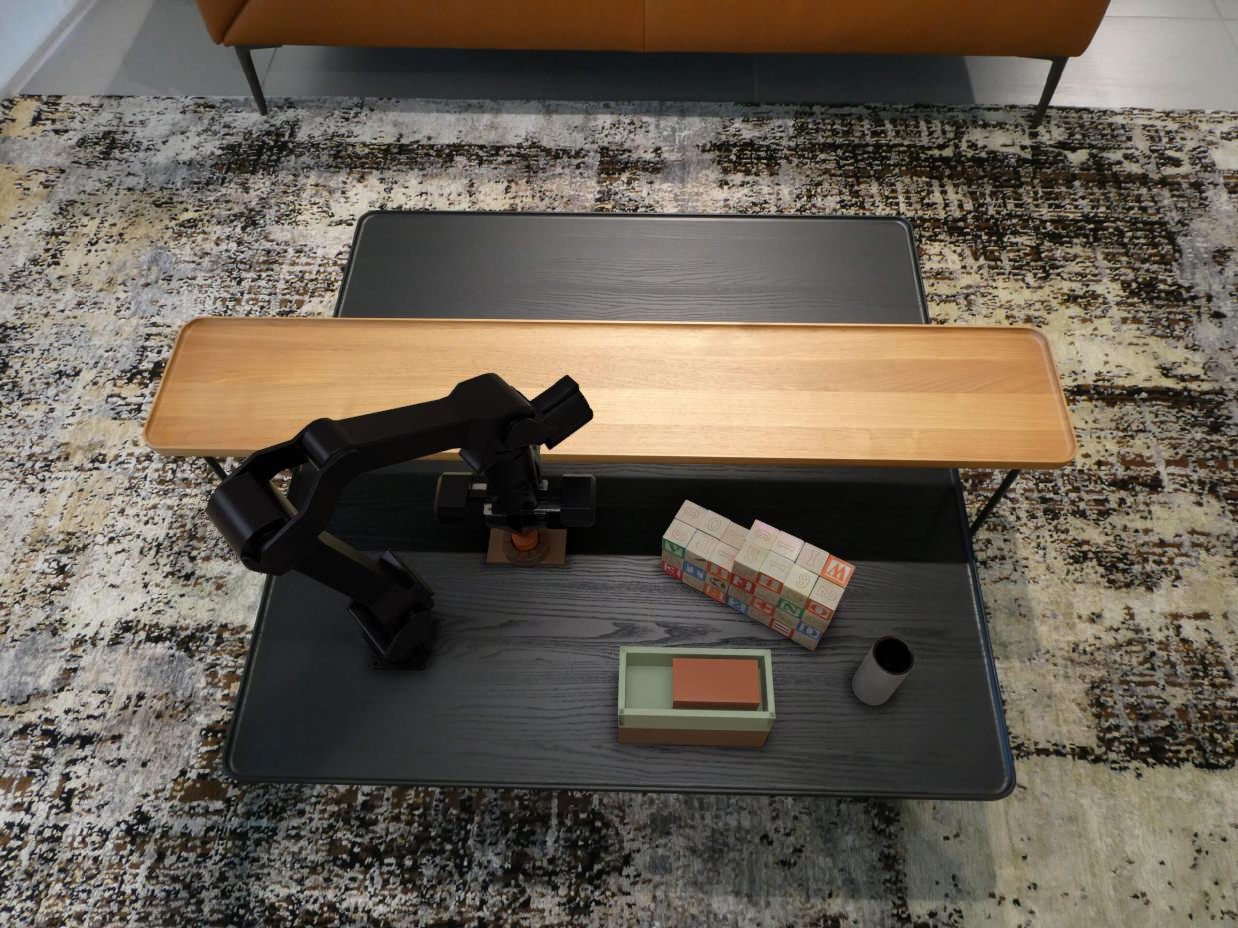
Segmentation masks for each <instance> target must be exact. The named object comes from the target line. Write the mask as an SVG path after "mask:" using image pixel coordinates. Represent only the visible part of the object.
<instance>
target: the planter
mask: <svg viewBox="0 0 1238 928" xmlns="http://www.w3.org/2000/svg"><path fill="white" fill-rule="evenodd" d="M915 663H916V656H915V651H914V649H913V647H912V646H911V645H910V644H909V643H908V641H906V639H904V638H902V637H899V636H898V635H897V636H896V635H892V634H891V635H884V636H881V637H879V638H878V639H877V640H876V641H874V643H873V645H872V647H871V648H870V649H869V651H868V653H867V654H866V656H865V657H864V659H863V660H862V662H861V663H860V665H859V666H858V669H857V670H856V671H855V673H854V675H853V677H852V679H851V687H852V688H851V689H852V691H853V693H854V695H855V697H856V698H857V699H858V700H859V701H860V702H861V703H864V704H866V705H868V706H876V707H877V706H880V705H883V704H885V703H886V702H887V701H888V700H889V699H890V697H891V696H892V695H893V694H894V693H895V692H896V690H897V689H898V688H899V686H900V685H901V684H902V683H903V681H904V680H905V679H906V677H907V676H908V675H909V673H910V672H911V671H912V670H913V668H914V666H915Z"/></svg>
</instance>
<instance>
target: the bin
mask: <svg viewBox="0 0 1238 928" xmlns="http://www.w3.org/2000/svg"><path fill="white" fill-rule="evenodd" d="M673 658H692V659H737V660H758V673H759V689H760V704H759V707H758V709H757V711H720V710H679V709H671V669H672V660H673ZM772 664H773V663H772V650H771V649H757V648H755V649H754V648H715V647H713V648H712V647H711V648H710V647H709V648H708V647H668V646H666V647H665V646H662V647H661V646H625V645H624V646H622V645H621V646H619V662H618V695H617V697H618V698H617V723H618V724H617V725H618V726H617V727H618V742H619V744H647V745H648V744H649V745H682V746H683V745H687V746H689V745H690V746H722V747H723V746H726V747H763V746H764V744H765V742H766V741H767V737H768V736H769V734H770V732H771V729H772V727H773V725H774V722H775V720H776V718H777V717H776V707H775V705H776V704H775V691H774V678H773V666H772Z"/></svg>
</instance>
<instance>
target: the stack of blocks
mask: <svg viewBox="0 0 1238 928" xmlns="http://www.w3.org/2000/svg"><path fill="white" fill-rule="evenodd" d="M661 542H662V543H661V549H662V550H661V565H660V570H661V571H662V572H664V573H666V574H668V575H670V576H672V577H674V578H676V579H678V580H680V581H681V582H682V583H684V584H686V585H687V586H689V587H692V588H693V589H695V590H697V591H699V592H702V593H703V594H705V595H706V596H709V597H710V598H712V599H714V600H715V601H718V602H720V603H721V604H725V605H727V606H728V607H730V608H732V609H734V610H736V611H738V612H740V613H742V614H744V615H746V616H748V617H750V618H752V619H753V620H755V621H757V622H759V623H761V624H763V625H765V626H767V627H768V628H769V629H771V630H773V631H775V632H777V633H778V634H780V635H781V636H784V637H786V638H788V639H789V640H792V641H793V642H795V643H797V644H798V645H800V646H802V647H804V648H806V649H808V650H810V651H812V652H814V651H815V649H816V648H817V646H818V644H819V642H820V640H821V638H822V636H823V635H824V633H825V632H826V630H827V628H828V627H829V626H830V622H831V621H832V618H833V616H834V614H835V612H836V610H837V608H838V606H839V603H840V602H841V599H842V597H843V595H844V593H845V591H846V589H847V586H848V584H849V582H850V580H851V578H852V575H853V574H854V571H855V569H856V566H855V565H853V564H851V563H849V562H847V561H845V560H843V559H841V558H839V557H836V556H834V555H832V554H830V553H829V552H828V551H826V550H824V549H822V548H819V547H817V546H815V545H813V544H811V543H808V542H805V541H804V540H802V539H801V538H799V537H796V536H794V535H791V534H789V533H787V532H785V531H783V530H779V529H778V528H776V527H774V526H772V525H769V524H767V523H765V522H763V521H761V520H758V519H755V520H754V522H753V524H752V526H751V527H750V529H748V528H746V527H745V526H742V525H740V524H738V523H735V522H734V521H731V520H730V519H729V518H727V517H725V516H722V515H721V514H718V513H716V512H714V511H712V510H710V509H706V508H705V507H702V506H701V505H699V504H696V503H695V502H692V501H690V500H688V499H685V500H684V502H683V504H682V505H681V506H680V509H679V510H678V512H677V513H676V515H675V517H674V519H673V520H672V522H671V523H670V525H668V527H667V530H666V531H665V533H664V534H663V536H662V539H661Z"/></svg>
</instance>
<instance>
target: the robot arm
mask: <svg viewBox="0 0 1238 928" xmlns="http://www.w3.org/2000/svg"><path fill="white" fill-rule="evenodd" d="M593 419H594V409H592V408H591V406H590V404H589V402H588V400H587V398H586V397H585V396H584V394H583V393H582V391H581V390H580V384H579V383H578V382H577V381H576V380H575V379H573V378H572V376H570V375H569V374H565V375H563V376H562V377H561V378H559V379H558V380H557V381H555V383H553V384H552V385H550V387H548V388H546V389H545V390H543V391H542V392H540V393H539V394H538V395H537V396H535V397H533V398H532V399H530V400H529V398H527V396H526V395H524V394H523V393H522V392H521V391H520V390H518V389H517V388H516V387H515V386H512V385H511V384H509V383H508V382H506V380H505V379H504V378H502V377H501V376H500V375H499V374H498V373H495V372H486V373H481V374H479V375H477V376H473V377H470V378H468V379H466V380H463V381H460V382H458V383H457V384H456V385H455V386H454V387H453V388H452V389H451V391H450V393H449V394H447V395H445V396H444V397H441V398H439V399H438V398H437V399H433V400H428V401H423V402H418V403H414V404H409V405H408V404H407V405H403V406H400V407H394V408H390V409H384V410H380V411H375V412H370V413H366V414H360V415H356V416H351V417H346V418H341V419H332V418H329V417H319V418H317V419H313V420H312V421H311V422H309V423H308V424H306V425H305V426H304V427H303V428H302V429H301V430H300V431H299V432H298V433H297V434H296V435H294V436H293V437H292V438H291V439H289V440H285V441H281V442H278V443H276V444H274V445H270V446H267V447H265V448H260V449H258V450H256V451H254V452H252V453H251V454H250V455H249V456H248V457H247V458H246V459H244V461H243V462H241V463H240V464H239V465H238V466H237V467H236V468H235V469H234V470H232V471H231V472H230V474H228V475H227V476H226V477H225V478H224V479H223V480H222V481H221V482H220V483H218V485H217V486H216V487H215V489H214V491H213V492H212V494H211V495H210V496H209V499H208V501H207V503H206V508H205V511H204V512H205V514H206V516H207V518H208V519H209V520H210V521H211V522H212V524H213V526H214V528H216V530H217V531H218V533H220V535H221V536H222V538H223V539H224V541H225V542H226V543H227V545H228V546H229V547H230V549H231V550H232V551H233V553H234V554H235V556H236V557H237V558H238V560H239V561H240V562H241V563H242V565H243V566H244V567H245V569H247V570H248V571H251V572H254V573H259V574H264V575H269V576H274V577H282V576H284V575H286V574H287V573H289V572H291V571H295V572H297V573H299V574H301V575H303V576H305V577H307V578H309V579H311V580H313V581H315V582H317V583H319V584H321V585H323V586H326V587H327V588H330V589H332V590H334V591H335V592H337V593H339V594H342V595H344V596H346V597H348V598H350V599H349V601H348V602H347V605H346V606H345V609H346V611H347V613H348V614H349V615H350V616H351V618H352V619H353V620H354V621H355V622H356V624H357V625H358V627H360V629H361V630H362V632H361V637H362V638H363V640H364V641H365V642H366V644H367V645H368V647H369V648H370V649H371V651H372V652H373V653H372V657H371V665H370V666H371V667H372V668H373V669H375V670H409V671H410V670H413V671H417V670H418V671H422V670H425V669H426V668H427V662H428V656H429V654H430V653H431V652H432V648H433V647H432V646H433V641H434V635H435V633H434V630H433V625H434V621H433V619H432V612H431V611H432V609H434V608H435V607H436V602H435V601H434V599H433V597H434V596H435V595H436V592H434V590H433V589H432V588H431V587H430V586H429V584H428V583H427V582H426V581H425V580H424V579H423V578H422V576H421V575H420V573H418V572H417V570H415V568H414V566H412V564H411V563H409V561H408V560H407V559H406V557H405V556H403V555H402V554H395V553H394V552H393V551H392V550H391V548H388V549H387V550H385V552H384V553H383V554H382V555H379V556H377V557H376V558H375V559H373V558H371V557H369V556H368V555H366V554H364V553H362V552H361V551H359V550H358V549H355V548H354V547H352V545H349V544H347V542H344V541H342V540H340V539H339V538H337V537H336V536H335V535H333V534H331V533H329V532H327V531H326V530H327V528H328V527H329V526H330V523H331V521H332V518H333V517H334V514H335V512H336V509H337V506H338V504H339V501H340V499H341V496H342V494H343V492H344V490H346V488H347V487H348V486H350V485H351V483H353V481H355V480H356V479H357V478H358V477H359V476H360V475H361V474H363V473H368V472H371V471H376V470H379V469H382V468H386V467H387V468H388V467H391V466H394V465H398V464H402V463H405V462H410V461H413V460H416V459H420V458H421V459H422V458H424V457H428V456H432V455H435V454H440V453H444V452H447V451H451V450H457V449H458V453H457V455H458V456H459V457H460V458H461V459H462V460H463V461H464V462H465V463H466V464H467V466H469V467H470V468H471V469H472V470H473V472H472V471H471V472H469V471H467V472H465V471H445V472H443V473H442V474H441V475H440V476H439V477H438V479H437V485H436V490H435V495H434V501H433V505H432V506H433V507H432V508H433V515H434V518H435V520H436V522H437V523H438V524H439V525H440V526H441V525H444V526H446V525H448V526H463V525H465V524H466V523H468V521H469V516H468V508H469V505H483V515H484V516H485V521H484V523H485V526H486V527H488V528H490V529H491V528H497V529H500V530H504V531H507V532H510V533H513V534H515V535H518V536H520V537H523V536H524V537H527V536H528V535H529V534H530V533H531V532H532V531H534V530H536V529H538V528H545V527H546V528H547V525H548V519H549V518H548V517H549V512H550V513H557V512H558V513H559V519H560V520H559V521H560V524H561V525H564V526H565V527H568V528H591V527H592V526H593V525H594V524H595V523H596V510H597V509H596V506H597V489H598V487H597V479H596V477H595V476H594V475H593V474H592V473H563V475H562V481H561V490H551V489H550V488H551V487H550V486H549V481H548V480H547V479H542V476H543V468H542V461H541V459H542V457H541V454H540V449H541V450H542V448H541V446H543V445H544V446H545V448H547V450H548V451H551V450H553V449H554V448H555V447H557V446H558V445H560V444H561V443H562V442H564V441H565V440H566V439H569V437H571V436H572V435H574V433H576V432H577V431H579V430H580V429H582V428H583V427H585V425H587V424H588V423H590V422H591V421H593ZM307 463H310V464H311V465H312V466H313V467H314V468H315V470H317V473H316V474H315V476H314V479H313V480H312V483H311V485H310V488H309V490H308V493H307V495H306V497H305V499H304V502H303V504H302V506H301V509H300V511H298V509H297V508H296V507H295V505H293V504H292V502H290V500H289V499H288V498H287V497H286V496H285V494H283V492H282V491H281V489H279V487H278V486H277V485H276V484H275V483H274V482H273V481H272V480H273V479H274V478H275V477H276V476H277V475H278V474H279V473H280V472H283V471H286V470H289V469H293V468H295V467H296V468H297V467H299V466H302V465H304V464H307ZM474 473H476V474H477V475H480V474H482V473H483V474H484V478H485V482H486V483H473V482H474V480H475V476H474ZM522 518H523V520H522ZM375 664H376V665H375ZM421 665H422V666H421Z"/></svg>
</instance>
